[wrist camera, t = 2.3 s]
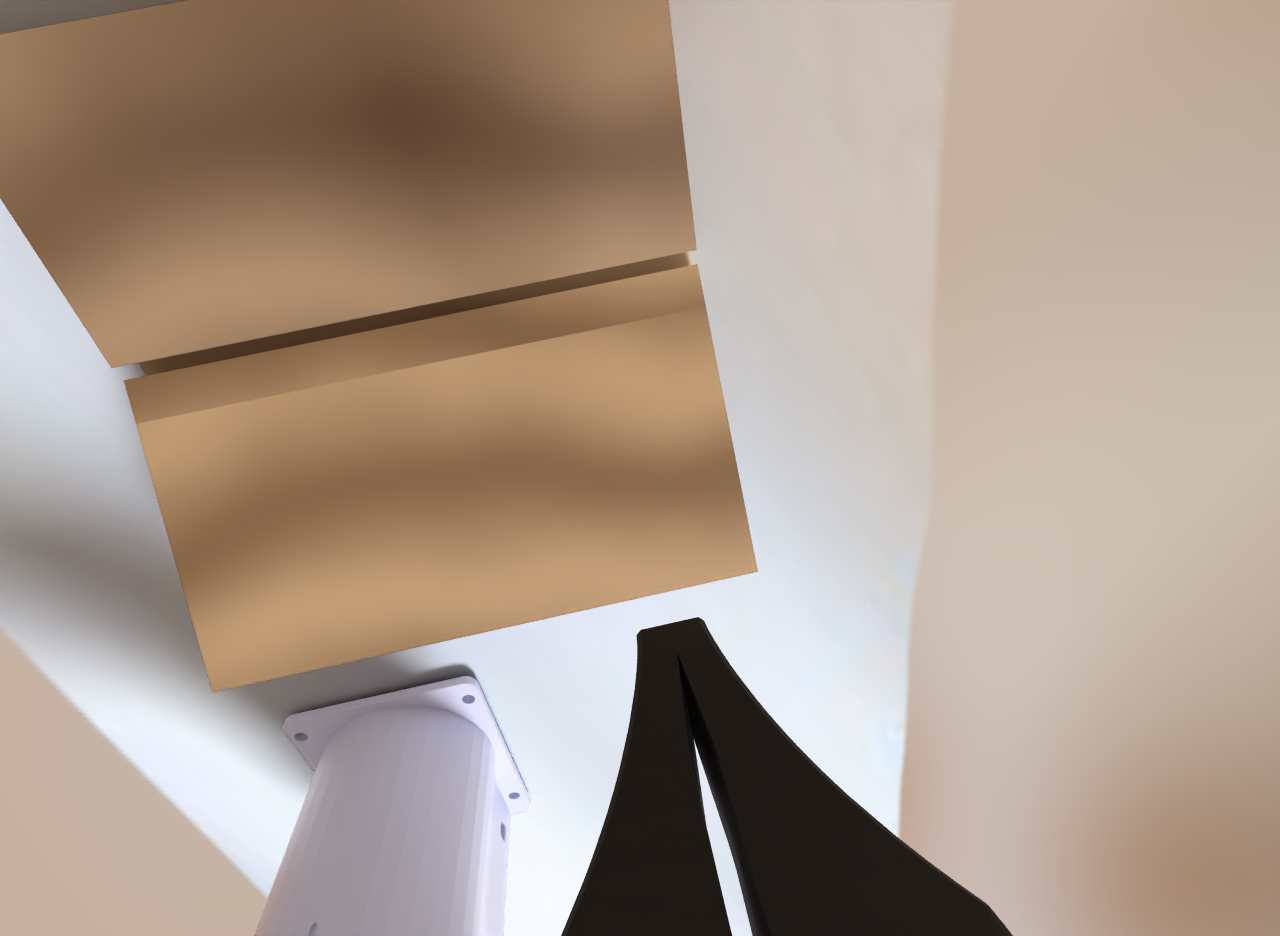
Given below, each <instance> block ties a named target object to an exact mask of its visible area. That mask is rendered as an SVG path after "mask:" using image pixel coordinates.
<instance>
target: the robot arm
mask: <svg viewBox="0 0 1280 936" xmlns="http://www.w3.org/2000/svg"><path fill="white" fill-rule="evenodd" d="M467 695H472V696H467ZM283 731H284V732H285V734H286V735H287V736H288V738H289V739H290V740H291V742H292V743H293V744H294V746H295V747H296V748H297V750H298V751H299V752H300V754H301V755H302V756H303V758H304V759H305V761H306V762H307V763H308V765H309V766H310V767H311V769H312V770H313V771H314V773H315V774H314V776H313V779H312V782H311V784H310V787H309V790H308V793H307V795H306V798H305V801H304V803H303V806H302V809H301V811H300V814H299V817H298V819H297V822H296V825H295V827H294V830H293V833H292V835H291V838H290V841H289V843H288V846H287V849H286V852H285V854H284V857H283V860H282V862H281V865H280V868H279V870H278V873H277V876H276V878H275V881H274V884H273V886H272V889H271V892H270V894H269V897H268V900H267V902H266V905H265V908H264V911H263V913H262V916H261V919H260V921H259V924H258V927H257V929H256V932H255V935H254V936H503V935H504V918H505V901H506V884H507V867H508V850H509V832H510V816H511V815H515V814H519V813H523V812H526V811H527V810H528V809H529V808H530V797H529V795H528V792H527V790H526V788H525V786H524V783H523V781H522V779H521V777H520V775H519V772H518V770H517V768H516V766H515V764H514V761H513V759H512V757H511V755H510V753H509V750H508V748H507V746H506V744H505V741H504V739H503V737H502V735H501V733H500V730H499V728H498V726H497V724H496V722H495V719H494V717H493V715H492V713H491V710H490V708H489V706H488V704H487V702H486V699H485V697H484V695H483V693H482V691H481V688H480V686H479V684H478V682H477V681H476V679H474V678H472V677H469V676H462V677H458V678H453V679H449V680H444V681H440V682H435V683H431V684H426V685H422V686H417V687H413V688H408V689H404V690H400V691H395V692H391V693H386V694H382V695H377V696H373V697H368V698H364V699H359V700H355V701H350V702H346V703H342V704H337V705H333V706H328V707H324V708H319V709H315V710H310V711H306V712H301V713H297V714H293V715H290V716H288V717H287V718H286V720H285V722H284V724H283ZM694 741H695V744H696V747H697V750H698V753H699V756H700V759H701V762H702V765H703V768H704V771H705V774H706V777H707V780H708V783H709V786H710V789H711V792H712V795H713V798H714V801H715V804H716V807H717V810H718V813H719V816H720V819H721V822H722V825H723V828H724V831H725V834H726V837H727V840H728V843H729V846H730V850H731V853H732V856H733V860H734V863H735V867H736V870H737V874H738V878H739V882H740V886H741V890H742V894H743V898H744V902H745V906H746V910H747V914H748V918H749V922H750V926H751V931H752V935H753V936H1013V935H1012V934H1011V933H1010V931H1009V930H1008V929H1007V928H1006V926H1005V925H1004V924H1003V923H1002V922H1001V920H1000V919H999V918H998V916H997V915H996V914H995V913H994V912H993V910H992V909H991V908H990V907H989V906H988V905H987V904H986V903H985V902H983V901H982V900H981V899H979V898H978V897H976V896H975V895H974V894H972V893H971V892H969V891H968V890H967V889H965V888H964V887H962V886H961V885H960V884H958V883H956V882H955V881H954V880H953V879H951V878H950V877H949V876H947V875H946V874H944V873H943V872H942V871H940V870H939V869H938V868H936V867H935V866H934V865H932V864H931V863H930V862H928V861H927V860H926V859H924V858H923V857H922V856H921V855H919V854H918V853H917V852H915V851H914V850H913V849H912V848H910V847H909V846H908V845H907V844H905V843H904V842H903V841H902V840H900V839H899V838H898V837H896V836H895V835H894V834H893V833H892V832H890V831H889V830H888V829H887V828H886V827H885V826H883V825H882V824H881V823H880V822H879V821H878V820H876V819H875V818H874V817H873V816H872V815H871V814H869V813H868V812H867V811H866V810H865V809H864V808H862V807H861V806H860V805H859V804H858V803H857V802H855V801H854V800H853V799H852V798H851V797H850V796H848V795H847V794H846V793H845V792H844V791H843V790H842V789H841V788H840V787H839V786H838V785H836V784H835V783H834V782H833V781H832V780H831V779H830V778H829V777H828V776H827V775H826V774H825V773H824V772H823V771H822V770H821V769H820V768H819V767H818V766H817V765H816V764H815V763H814V762H813V761H812V760H811V759H810V758H809V757H808V756H807V755H806V754H805V753H804V752H803V751H802V750H801V749H800V748H799V747H798V746H797V745H796V744H795V743H794V742H793V741H792V740H791V739H790V737H789V736H788V735H787V734H786V733H785V732H784V731H783V730H782V729H781V727H780V726H779V725H778V724H777V723H776V722H775V721H774V720H773V718H772V717H771V716H770V715H769V714H768V713H767V711H766V710H765V709H764V708H763V707H762V705H761V704H760V703H759V702H758V701H757V699H756V698H755V697H754V695H753V694H752V693H751V692H750V690H749V689H748V688H747V686H746V685H745V684H744V683H743V681H742V680H741V679H740V677H739V676H738V675H737V673H736V672H735V671H734V669H733V668H732V666H731V665H730V664H729V662H728V661H727V659H726V658H725V656H724V655H723V653H722V652H721V650H720V649H719V647H718V645H717V644H716V642H715V641H714V639H713V637H712V635H711V634H710V632H709V630H708V628H707V626H706V624H705V622H704V620H702V619H700V618H699V617H697V618H692V619H688V620H683V621H679V622H674V623H670V624H665V625H661V626H656V627H652V628H648V629H643V630H641V631H640V632H639V633H638V634H637V672H636V682H635V691H634V698H633V704H632V711H631V717H630V723H629V728H628V733H627V738H626V742H625V747H624V751H623V756H622V760H621V765H620V769H619V773H618V777H617V781H616V784H615V788H614V792H613V795H612V799H611V802H610V805H609V809H608V812H607V815H606V819H605V822H604V825H603V828H602V831H601V834H600V837H599V840H598V842H597V845H596V848H595V851H594V854H593V857H592V860H591V863H590V865H589V868H588V871H587V873H586V876H585V879H584V881H583V884H582V886H581V889H580V891H579V894H578V896H577V898H576V901H575V903H574V906H573V908H572V911H571V913H570V916H569V918H568V920H567V923H566V925H565V928H564V930H563V933H562V935H561V936H732V933H731V929H730V925H729V921H728V916H727V912H726V908H725V904H724V899H723V895H722V891H721V887H720V882H719V878H718V874H717V870H716V865H715V861H714V857H713V853H712V848H711V844H710V840H709V836H708V831H707V827H706V821H705V814H704V807H703V800H702V793H701V786H700V779H699V772H698V765H697V758H696V751H695V744H694Z"/></svg>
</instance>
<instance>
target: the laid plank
mask: <svg viewBox="0 0 1280 936" xmlns="http://www.w3.org/2000/svg"><path fill="white" fill-rule="evenodd" d="M0 198H1V200H2V202H3V203H4V205H5V206H6V208H7V209H8V211H9V212H10V214H11V215H12V217H13V218H14V220H15V221H16V223H17V224H18V226H19V227H20V229H21V231H22V232H23V234H24V235H25V237H26V238H27V240H28V241H29V243H30V244H31V246H32V247H33V249H34V250H35V252H36V253H37V255H38V256H39V258H40V260H41V261H42V263H43V264H44V266H45V267H46V269H47V270H48V272H49V273H50V275H51V276H52V278H53V279H54V281H55V282H56V284H57V285H58V287H59V289H60V290H61V292H62V293H63V295H64V296H65V298H66V299H67V301H68V302H69V304H70V305H71V307H72V308H73V310H74V311H75V313H76V314H77V316H78V318H79V319H80V321H81V322H82V324H83V325H84V327H85V328H86V330H87V331H88V333H89V334H90V336H91V337H92V339H93V340H94V342H95V343H96V345H97V347H98V348H99V350H100V351H101V353H102V354H103V356H104V357H105V359H106V360H107V362H108V363H109V365H110V366H111V368H115V367H120V366H124V365H129V364H134V363H139V364H140V366H141V367H142V369H143V370H144V372H145V374H146V375H147V376H149V375H154V374H159V373H164V372H169V371H173V370H178V369H183V368H188V367H193V366H198V365H203V364H208V363H213V362H218V361H223V360H228V359H233V358H238V357H242V356H247V355H252V354H257V353H262V352H267V351H272V350H277V349H282V348H287V347H292V346H297V345H302V344H307V343H311V342H316V341H321V340H326V339H331V338H336V337H341V336H346V335H351V334H356V333H361V332H366V331H371V330H376V329H380V328H385V327H390V326H395V325H400V324H405V323H410V322H415V321H420V320H425V319H430V318H435V317H440V316H444V315H449V314H454V313H459V312H464V311H469V310H474V309H479V308H484V307H489V306H494V305H499V304H504V303H509V302H513V301H518V300H523V299H528V298H533V297H538V296H543V295H548V294H553V293H558V292H563V291H568V290H573V289H578V288H582V287H587V286H592V285H597V284H602V283H607V282H612V281H617V280H622V279H627V278H632V277H637V276H642V275H647V274H651V273H656V272H661V271H666V270H671V269H676V268H681V267H686V266H691V256H690V251H694V250H696V241H695V232H694V223H693V214H692V205H691V197H690V188H689V179H688V170H687V161H686V152H685V144H684V135H683V126H682V117H681V108H680V99H679V91H678V82H677V73H676V64H675V55H674V46H673V38H672V29H671V20H670V11H669V2H668V0H186V1H180V2H175V3H169V4H164V5H158V6H153V7H147V8H142V9H136V10H131V11H125V12H120V13H114V14H109V15H103V16H98V17H92V18H87V19H81V20H76V21H70V22H65V23H59V24H54V25H48V26H43V27H37V28H32V29H26V30H21V31H15V32H10V33H4V34H0Z"/></svg>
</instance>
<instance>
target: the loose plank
mask: <svg viewBox="0 0 1280 936" xmlns="http://www.w3.org/2000/svg"><path fill="white" fill-rule="evenodd" d="M124 382H125V386H126V390H127V393H128V397H129V400H130V404H131V407H132V411H133V414H134V418H135V421H136V425H137V428H138V432H139V435H140V439H141V442H142V446H143V449H144V453H145V456H146V460H147V463H148V467H149V471H150V474H151V478H152V481H153V485H154V488H155V492H156V495H157V499H158V502H159V506H160V509H161V513H162V516H163V520H164V523H165V527H166V530H167V534H168V537H169V541H170V544H171V548H172V552H173V555H174V559H175V562H176V566H177V569H178V573H179V576H180V580H181V583H182V587H183V590H184V594H185V597H186V601H187V604H188V608H189V611H190V615H191V618H192V622H193V625H194V629H195V633H196V636H197V640H198V643H199V647H200V650H201V654H202V657H203V661H204V664H205V668H206V671H207V675H208V678H209V682H210V685H211V689H212V692H217V691H222V690H226V689H231V688H235V687H240V686H244V685H249V684H254V683H258V682H263V681H267V680H272V679H276V678H281V677H285V676H290V675H294V674H299V673H303V672H308V671H312V670H317V669H321V668H326V667H330V666H335V665H339V664H344V663H348V662H353V661H357V660H362V659H366V658H371V657H375V656H380V655H384V654H389V653H393V652H398V651H402V650H407V649H411V648H416V647H420V646H425V645H429V644H434V643H438V642H443V641H447V640H452V639H456V638H461V637H465V636H470V635H474V634H479V633H483V632H488V631H493V630H497V629H502V628H506V627H511V626H515V625H520V624H524V623H529V622H533V621H538V620H542V619H547V618H551V617H556V616H560V615H565V614H569V613H574V612H578V611H583V610H587V609H592V608H596V607H601V606H605V605H610V604H614V603H619V602H623V601H628V600H632V599H637V598H641V597H646V596H650V595H655V594H659V593H664V592H668V591H673V590H677V589H682V588H686V587H691V586H695V585H700V584H704V583H709V582H713V581H718V580H722V579H727V578H732V577H736V576H741V575H745V574H750V573H754V572H758V570H757V565H756V560H755V555H754V550H753V545H752V540H751V535H750V530H749V525H748V520H747V515H746V509H745V504H744V499H743V494H742V489H741V484H740V479H739V474H738V469H737V464H736V459H735V454H734V448H733V443H732V438H731V433H730V428H729V423H728V418H727V413H726V408H725V403H724V398H723V393H722V388H721V382H720V377H719V372H718V367H717V362H716V357H715V352H714V347H713V342H712V337H711V332H710V327H709V321H708V316H707V311H706V306H705V301H704V296H703V291H702V286H701V281H700V276H699V271H698V266H697V264H696V265H691V266H686V267H681V268H676V269H671V270H666V271H661V272H656V273H651V274H647V275H642V276H637V277H632V278H627V279H622V280H617V281H612V282H607V283H602V284H597V285H592V286H587V287H582V288H578V289H573V290H568V291H563V292H558V293H553V294H548V295H543V296H538V297H533V298H528V299H523V300H518V301H513V302H509V303H504V304H499V305H494V306H489V307H484V308H479V309H474V310H469V311H464V312H459V313H454V314H449V315H444V316H440V317H435V318H430V319H425V320H420V321H415V322H410V323H405V324H400V325H395V326H390V327H385V328H380V329H376V330H371V331H366V332H361V333H356V334H351V335H346V336H341V337H336V338H331V339H326V340H321V341H316V342H311V343H307V344H302V345H297V346H292V347H287V348H282V349H277V350H272V351H267V352H262V353H257V354H252V355H247V356H242V357H238V358H233V359H228V360H223V361H218V362H213V363H208V364H203V365H198V366H193V367H188V368H183V369H178V370H173V371H169V372H164V373H159V374H154V375H149V376H144V377H139V378H134V379H129V380H124Z"/></svg>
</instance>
